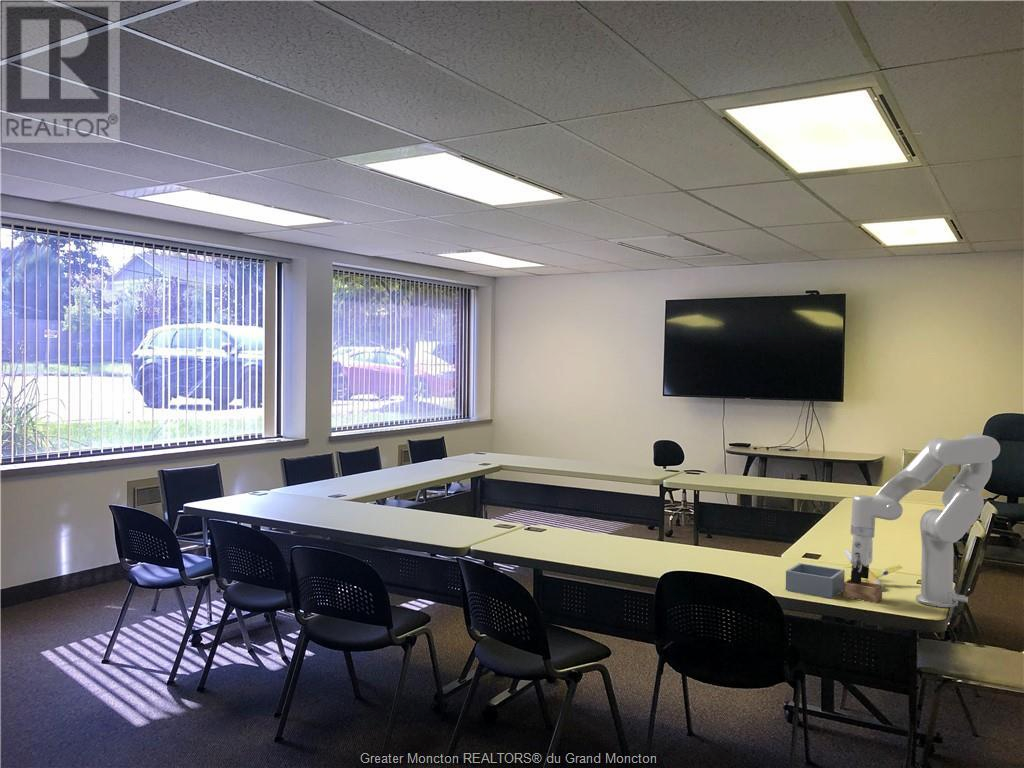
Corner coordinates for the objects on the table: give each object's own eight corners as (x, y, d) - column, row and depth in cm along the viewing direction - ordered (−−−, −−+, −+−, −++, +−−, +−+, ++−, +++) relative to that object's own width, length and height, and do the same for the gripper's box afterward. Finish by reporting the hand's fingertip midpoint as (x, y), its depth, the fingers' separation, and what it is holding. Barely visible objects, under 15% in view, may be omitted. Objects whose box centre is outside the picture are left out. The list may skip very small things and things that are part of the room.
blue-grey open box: (844, 589, 280) (844, 570, 279) (832, 598, 268) (832, 578, 268) (799, 581, 289) (799, 563, 289) (785, 590, 278) (785, 570, 278)
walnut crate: (881, 599, 268) (882, 584, 268) (877, 603, 263) (877, 588, 263) (848, 593, 275) (848, 579, 275) (843, 597, 270) (843, 583, 269)
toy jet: (919, 594, 278) (879, 554, 307) (916, 576, 276) (876, 538, 305) (848, 611, 279) (814, 569, 308) (845, 593, 277) (812, 553, 306)
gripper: (867, 536, 259) (864, 587, 260) (880, 529, 273) (877, 578, 273) (844, 533, 264) (841, 582, 264) (857, 526, 278) (854, 573, 278)
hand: (859, 580), depth 269 cm, fingers open, 9 cm apart
